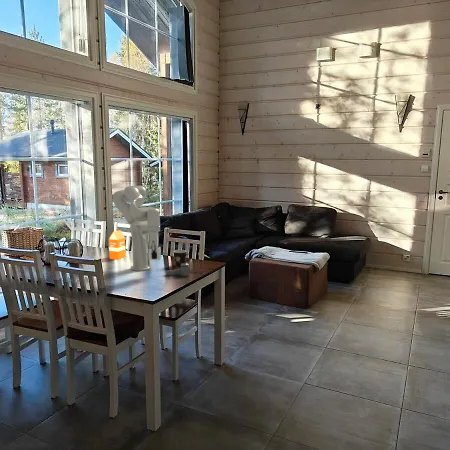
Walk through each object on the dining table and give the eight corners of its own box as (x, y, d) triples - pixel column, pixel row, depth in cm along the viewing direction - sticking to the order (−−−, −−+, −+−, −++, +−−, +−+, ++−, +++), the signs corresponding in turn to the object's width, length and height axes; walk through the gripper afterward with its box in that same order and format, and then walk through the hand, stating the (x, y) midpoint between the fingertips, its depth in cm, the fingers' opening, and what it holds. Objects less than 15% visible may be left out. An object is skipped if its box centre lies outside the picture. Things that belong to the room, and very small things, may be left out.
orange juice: (109, 258, 295) (108, 231, 292) (117, 256, 303) (115, 229, 300) (118, 259, 292) (117, 232, 289) (125, 257, 300) (124, 230, 297)
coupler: (166, 273, 257) (166, 262, 256) (189, 273, 258) (188, 262, 257) (166, 276, 250) (165, 265, 249) (189, 276, 251) (188, 265, 250)
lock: (149, 258, 254) (149, 245, 252) (160, 257, 254) (160, 245, 253) (148, 260, 248) (148, 247, 247) (160, 260, 248) (159, 247, 247)
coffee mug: (171, 265, 276) (170, 251, 274) (180, 263, 282) (180, 249, 280) (182, 268, 268) (182, 254, 266) (192, 266, 274) (192, 251, 273)
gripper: (149, 226, 256) (150, 254, 259) (146, 231, 239) (147, 261, 242) (161, 226, 257) (161, 254, 260) (159, 231, 240) (159, 260, 243)
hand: (154, 257), depth 251 cm, fingers closed on lock, 6 cm apart
